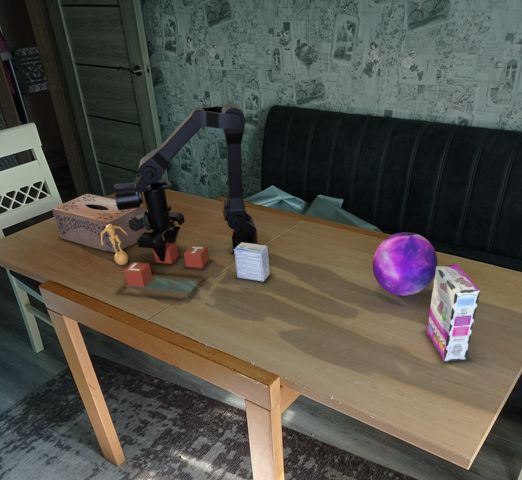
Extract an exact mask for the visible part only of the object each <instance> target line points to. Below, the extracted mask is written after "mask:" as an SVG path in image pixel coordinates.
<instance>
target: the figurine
mask: <svg viewBox="0 0 522 480" xmlns="http://www.w3.org/2000/svg"><path fill="white" fill-rule="evenodd" d="M115 228H120V229H121V230H122V231H123V232H124V233H126V232H125V231H124V230H123V229H122V228H121V227H119V226H113V225H112V224H108V225H107V226H106V228H105V229H104V231H103V232H102V233H101V244H102V245H103V242H102V241H103V238H102V237H103V236H102V235H103V234H104V233H105V232H106V231H107V232H108V233H109V235H110V236H111V237H109V240H110V241H111V243H112V244H113V248H114V249H115V251H116V253H115V254H114V256H113V257H114V259H113V260H114V261H115V263H116V264H117V265H119V266H124V265H127V264H128V262H129V259H130V258H129V255H128V253H126V252H125V251H124V250H123V249H121V247H120V245H121V241H120V239H119V238H118V235H116V236H115ZM126 235H127V233H126ZM127 236H128V235H127ZM114 239H116V241H117V242H119V244H118V247H119V249H120V251H117V250H116V248H115V247H116V246H115V240H114Z"/></svg>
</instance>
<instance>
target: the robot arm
mask: <svg viewBox="0 0 522 480" xmlns="http://www.w3.org/2000/svg"><path fill="white" fill-rule="evenodd" d="M245 125H246V115H245V113H244V112H243V110H242V108H241V106H239V104H237V103H236V102H235V103H234V102H227V103H225V105H223V106H221V105H216V106H207V107H205V106H204V107H201V106H195V107H194V108H192V109H191V112H190V113H189V115H187V116H186V117H185V118H184V120H183V121H182V122H181V123H180V124H179V125H178V126H177V128H176V129H174V131H173V132H172V133H171V134H170V135H169V136H168V137H167V138H166V140H165V141H164V142H163V143H162V144H160V146H158V147H157V148H154V149H153V150H152V151H150V152H148V153H147V154H145V156H143V157H142V158H141V159H140V161H139V165H138V173H137V176H135V180H134V182H127V183H115V184H114V185H113V186H114V194H115V200H116V205H117V208H118V210H127V209H135V208H140V206H141V205H143V204H144V201H145V207H146V210H144V213H143V214H140V215H138V216H136V217H134V218H131V219H129V220H128V221H129V228H130V229H131V230H133V231H134V230H135V232H137V231H138V230H140V229H143V228H146V230H148V232H144V233H143V234H142V235H141V236H140V237H139V238H138V239H137V243H136V244H137V247H138V248H141V249H142V248H143V249H152V250H153V249H154V251H155V252H156V254H157V256H158V257H159V259H160V261H161V262H164V261H165V257H166V249H167V242H168V243H177V239H178V236H179V232H180V230H181V226H182V225H183V224H184V223H186V221H185V216H184V214H183V213H182V212H180V211H179V212H178V211H172V206H171V205H168V199H167V194H166V190H171V189H172V183H171V182H170V181H169V180H167V179H166V178H165V177H162V176H163V175H164V174H165V172H166V170H167V168H168V166H169V164H170V162H171V161H172V160H173V158H174V157H175V156H176V155H177V154H178V153H179V152H180V151H181V150H182V148H184V146H186V144H187V143H188V142H189V141H190V140H191V139H192V138H193V137H194V136H195V135H196V133H198V132H199V131H200V130H201V128H212V129H220V130H221V129H222V132H223V134H224V138H225V145H226V148H225V149H226V167H227V168H226V169H227V187H228V188H227V190H228V191H227V192H228V193H227V198H226V199H225V198H223V199H221V200H222V205H223V210H222V215H223V219H224V222H226V223H227V226H228V227H229V229H231V230H233V231H232V235H231V242H232V244H231V245H232V249H233V251H232V254H233V255H235V252H234V249H235V248H236V247H237V246H238V245H239V244H240V243H242V242H243V243H251V244H258V245H261V244H260V243H258V232H257V226H256V225H255V222H254V218H253V216H252V215H250V214H249V213H247V209H246V206H245V205H246V204H245V201H244V196H243V165H242V142H243V137H244V135H245V134H244V133H245ZM143 197H144V199H143ZM175 222H177V224H178V225H179V226H177V224H175ZM151 230H152V231H151ZM150 231H151V232H150Z"/></svg>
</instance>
